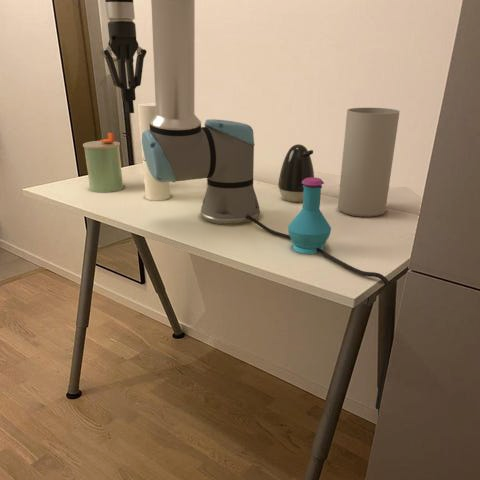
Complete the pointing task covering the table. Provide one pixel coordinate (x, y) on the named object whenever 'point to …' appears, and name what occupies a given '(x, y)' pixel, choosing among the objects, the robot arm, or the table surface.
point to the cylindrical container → (152, 186)
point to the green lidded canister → (103, 166)
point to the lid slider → (109, 138)
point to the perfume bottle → (310, 220)
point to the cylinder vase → (367, 160)
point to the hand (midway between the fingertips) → (130, 112)
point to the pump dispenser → (295, 173)
